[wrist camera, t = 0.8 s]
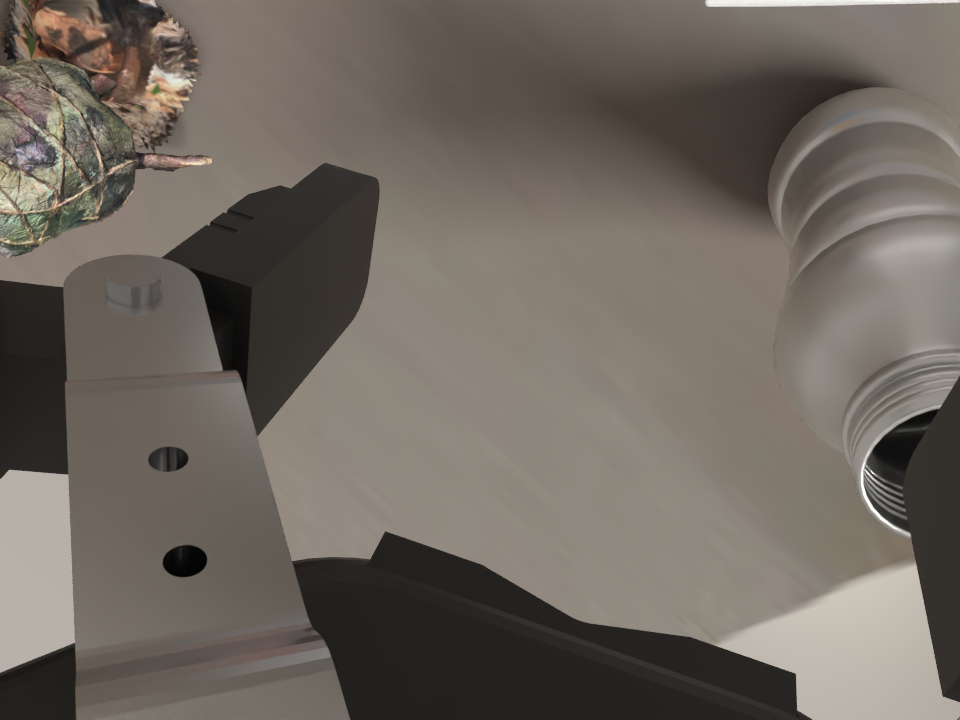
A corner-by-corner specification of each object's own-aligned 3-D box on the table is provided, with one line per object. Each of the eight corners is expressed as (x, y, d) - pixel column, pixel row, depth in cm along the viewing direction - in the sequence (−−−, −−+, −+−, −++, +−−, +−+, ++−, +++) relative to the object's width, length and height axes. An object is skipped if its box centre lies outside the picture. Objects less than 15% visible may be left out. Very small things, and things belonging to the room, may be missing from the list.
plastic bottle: (988, 178, 33) (1223, 525, 17) (819, 270, 37) (876, 636, 20) (900, 34, 32) (1063, 261, 15) (732, 144, 35) (715, 429, 18)
